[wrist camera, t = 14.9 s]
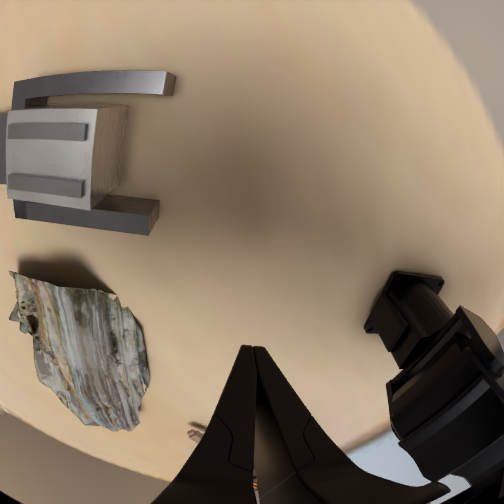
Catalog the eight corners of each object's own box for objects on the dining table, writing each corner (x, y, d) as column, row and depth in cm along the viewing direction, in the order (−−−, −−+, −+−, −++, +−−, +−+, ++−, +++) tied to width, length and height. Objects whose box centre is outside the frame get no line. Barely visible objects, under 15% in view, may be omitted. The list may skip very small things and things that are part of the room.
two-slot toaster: (129, 105, 14) (94, 109, 10) (119, 183, 16) (87, 213, 12) (50, 103, 13) (4, 111, 9) (45, 175, 15) (4, 200, 11)
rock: (148, 254, 23) (3, 242, 19) (136, 296, 16) (-38, 273, 12) (156, 422, 30) (51, 407, 26) (157, 467, 24) (40, 447, 20)
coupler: (176, 75, 13) (166, 71, 11) (158, 218, 17) (148, 235, 15) (-28, 95, 10) (-49, 99, 8) (-26, 198, 15) (-44, 210, 12)
